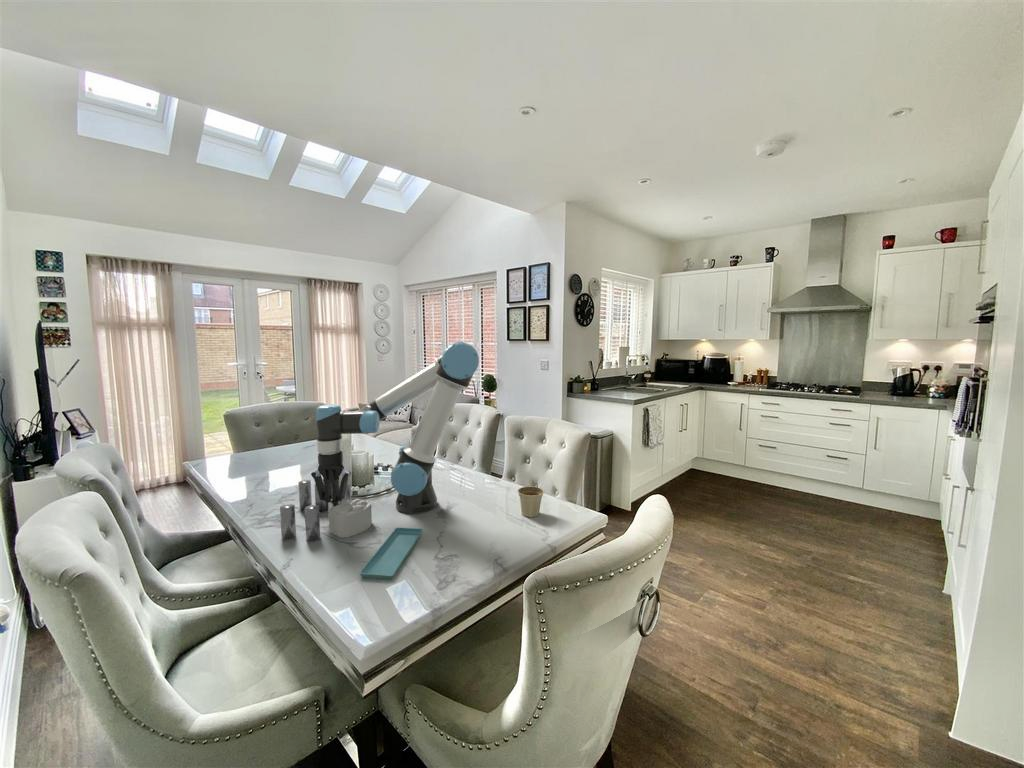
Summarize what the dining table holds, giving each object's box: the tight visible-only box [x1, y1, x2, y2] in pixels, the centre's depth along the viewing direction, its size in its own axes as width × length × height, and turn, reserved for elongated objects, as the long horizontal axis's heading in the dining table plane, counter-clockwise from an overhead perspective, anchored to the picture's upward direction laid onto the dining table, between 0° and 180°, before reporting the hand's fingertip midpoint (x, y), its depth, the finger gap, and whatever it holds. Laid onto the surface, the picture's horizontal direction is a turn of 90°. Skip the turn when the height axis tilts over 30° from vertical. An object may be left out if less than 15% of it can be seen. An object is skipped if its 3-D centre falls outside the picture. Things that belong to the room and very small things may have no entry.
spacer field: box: [279, 479, 352, 542], centre depth 141 cm, size 20×26×10 cm
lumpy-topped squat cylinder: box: [328, 498, 373, 539], centre depth 136 cm, size 10×13×9 cm
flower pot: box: [517, 485, 545, 518], centre depth 148 cm, size 9×9×9 cm
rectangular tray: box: [358, 527, 424, 581], centre depth 120 cm, size 26×9×2 cm, turn 175°
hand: (333, 519), depth 140 cm, fingers closed
